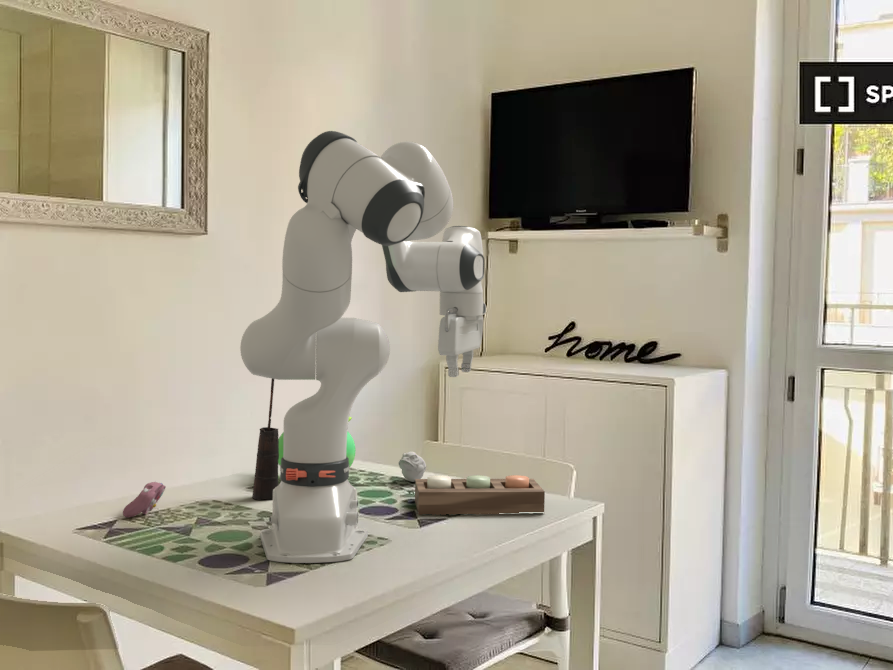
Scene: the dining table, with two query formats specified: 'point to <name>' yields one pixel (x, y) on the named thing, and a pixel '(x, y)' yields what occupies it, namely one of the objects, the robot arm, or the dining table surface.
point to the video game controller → (145, 500)
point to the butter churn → (267, 459)
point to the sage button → (478, 482)
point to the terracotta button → (516, 481)
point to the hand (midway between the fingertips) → (460, 374)
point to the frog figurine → (412, 466)
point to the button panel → (478, 498)
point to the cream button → (439, 482)
